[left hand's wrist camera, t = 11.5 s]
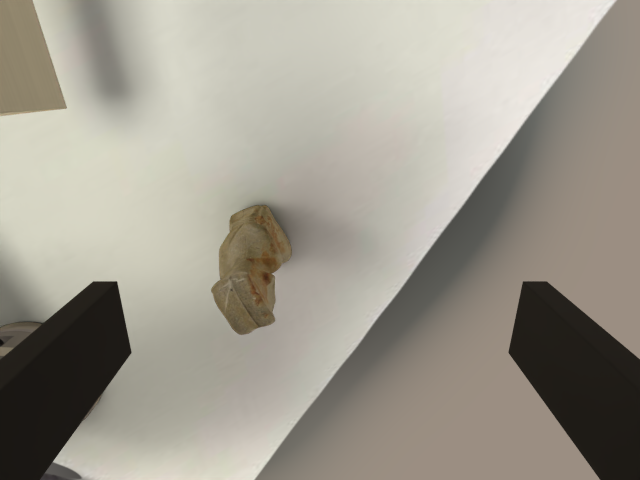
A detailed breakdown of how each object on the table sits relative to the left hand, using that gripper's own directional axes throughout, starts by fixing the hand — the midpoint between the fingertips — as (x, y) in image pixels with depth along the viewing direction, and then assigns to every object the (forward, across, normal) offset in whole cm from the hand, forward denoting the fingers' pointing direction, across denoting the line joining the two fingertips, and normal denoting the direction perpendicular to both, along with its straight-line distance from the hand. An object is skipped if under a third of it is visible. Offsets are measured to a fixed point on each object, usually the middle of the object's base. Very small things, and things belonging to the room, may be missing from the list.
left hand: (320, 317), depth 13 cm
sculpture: (+29, +6, +7) cm, 31 cm away
